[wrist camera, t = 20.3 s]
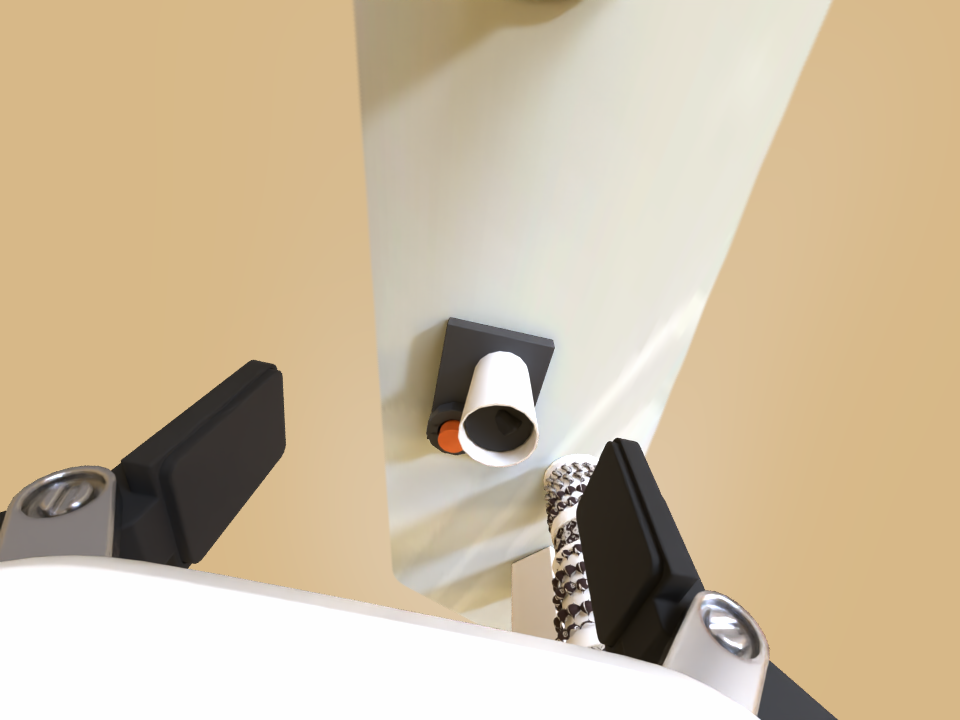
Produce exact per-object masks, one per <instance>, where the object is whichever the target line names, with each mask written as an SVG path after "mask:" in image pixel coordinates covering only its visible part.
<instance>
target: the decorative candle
mask: <svg viewBox="0 0 960 720" xmlns="http://www.w3.org/2000/svg"><path fill="white" fill-rule="evenodd" d="M598 460H599V459H597V458H595V457H593V456H591V455H582V454H574V455H569V456H564V457H562V458H560V459H558V460H556V461H555V462H553V463H552V464H551V465H550V466H549V467H548V469H547V470H546V471H545V476H544V485H545V486H544V490H546V491H547V493H548V494H546V495H545V500H548V501H549V502H548V504H546V507H547V509H546V512H547V514H549V515H548V520H547V523H548V525H549V532H550V533H551V536H552V542H553V545H554V549H555V556H554V560H553V564H552V570H553V573H554V575H555V578H553V579H552V586H553V591H554V592H555V596H554V597H553V599H552V601H553V604H554V605H555V609H556V610H557V611H558V612H557V617H555V618H554V620H553V624H554V626H555V630H556V632H557V633H558V637H557V638H556V639H555V640H556V641H561V642H564V640H566V642H565V643H570V644H574V645H579V646H583V647H588V648H592V649H597V650H601V651H606V650H605V645H604V644H601V643H600V642H599V640H598V637H597V633H596V627H595V621H594V616H593V610H592V605H591V599H590V593H589V588H588V582H587V576H586V571H585V565H584V560H583V554H582V548H581V543H580V537H579V532H578V526H577V520H576V509H577V505H578V503H579V501H580V498H581V496H582V494H583V492H584V490H585V488H586V486H587V484H588V482H589V479H590V477H591V475H592V473H593V471H594V469H595V467H596V465H597V462H598ZM559 583H560V586H559ZM561 600H562V602H561ZM562 622H563V623H564V629H563V626H562Z"/></svg>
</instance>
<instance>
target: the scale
mask: <svg viewBox="0 0 960 720" xmlns="http://www.w3.org/2000/svg"><path fill="white" fill-rule="evenodd" d="M554 349H555V347H554V342H553V340H551V339H546V338H542V337H537V336H533V335H528V334H524V333H519V332H515V331H510V330H506V329H501V328H497V327H492V326H488V325H483V324H478V323H474V322H469V321H465V320H460V319H456V318H451V317H450V319H449V321H448V324H447V329H446V335H445V340H444V346H443V351H442V357H441V363H440V368H439V374H438V379H437V385H436V391H435V396H434V402H433V407H432V413H431V415H430V418H429V421H428V426H427V432H426V434H427V439H429V440H430V442H431V444H432V445H433V446H435V447H436V448H437V449H439V450H440V451H442V452H444V453H448V454H453V455H460V454H465V453H466V452H465V451H464V450H462V451H460V452H457V453H451V452H447V451H445V450H443V449H442V448H441V447H440V445H439V443H438V436H439V432H440V429H441V426H442V425H443V424H444V423H445V422H447V421H449V420H458V421H461V417H462V413H463V410H464V406H465V403H466V399H467V395H468V392H469V388H470V384H471V381H472V377H473V374H474V370H475V367H476V365H477V364H478V362H479V361H480V359H482V358H483V357H485V356H486V355H487V354H489V353H494V352H498V351H502V352H509V353H512V354H514V355H516V356H518V357H520V358H521V360H522V361H523V362H524V363H525V364H526V366H527V369H528V373H529V379H530V385H531V391H532V397H533V403H534V408H535V405H536V402H537V399H538V396H539V393H540V390H541V387H542V384H543V381H544V378H545V375H546V372H547V369H548V366H549V363H550V360H551V357H552V354H553V352H554Z"/></svg>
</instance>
